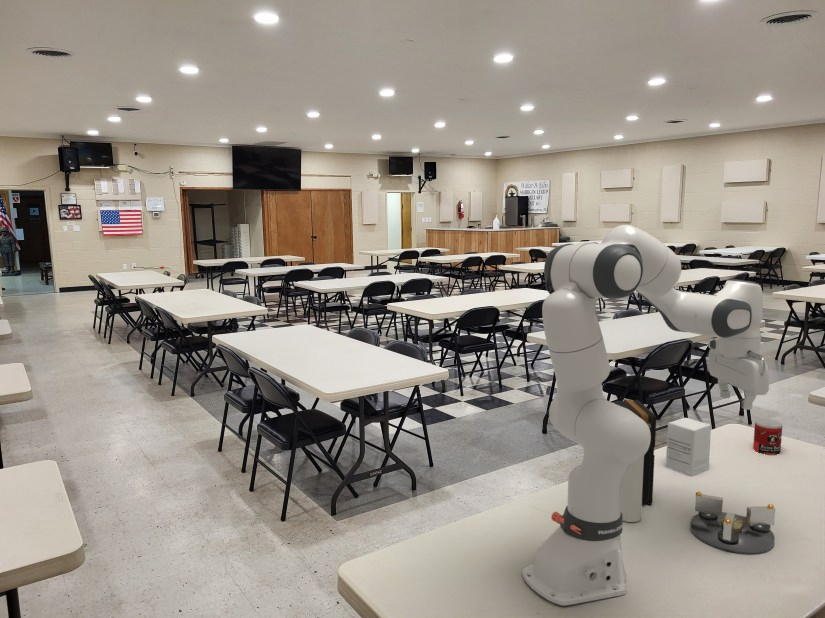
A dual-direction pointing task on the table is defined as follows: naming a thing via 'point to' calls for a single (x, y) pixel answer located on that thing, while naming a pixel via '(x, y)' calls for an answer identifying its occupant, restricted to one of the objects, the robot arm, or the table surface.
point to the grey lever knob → (760, 518)
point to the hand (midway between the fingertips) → (735, 403)
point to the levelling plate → (745, 537)
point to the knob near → (728, 530)
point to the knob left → (708, 506)
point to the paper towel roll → (632, 492)
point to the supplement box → (688, 446)
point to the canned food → (767, 436)
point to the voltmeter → (649, 456)
